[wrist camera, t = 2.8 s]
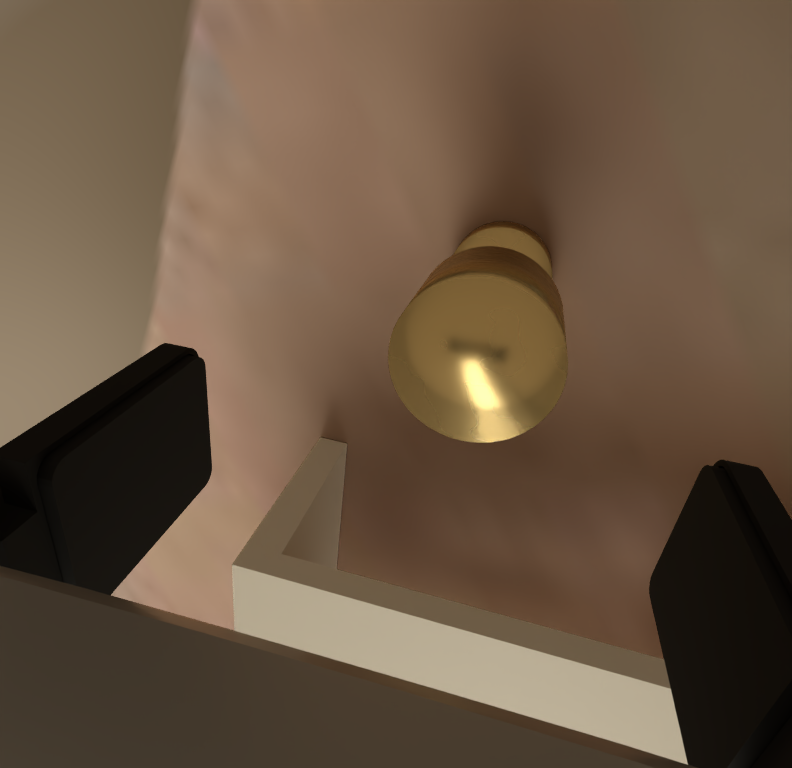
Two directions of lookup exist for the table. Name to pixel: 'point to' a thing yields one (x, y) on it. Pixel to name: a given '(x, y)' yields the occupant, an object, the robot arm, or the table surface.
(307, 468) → the keyhole shelf
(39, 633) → the robot arm
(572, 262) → the table surface
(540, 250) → the brass capped stopper
